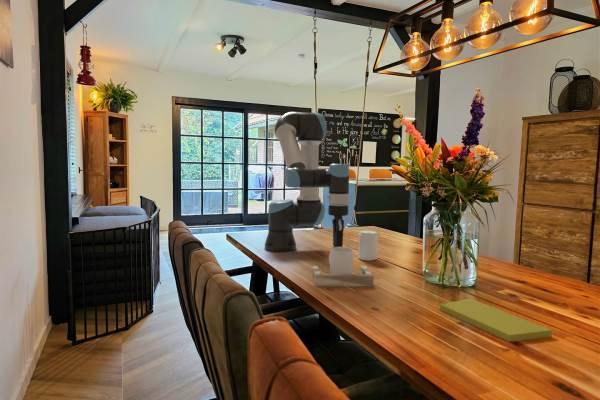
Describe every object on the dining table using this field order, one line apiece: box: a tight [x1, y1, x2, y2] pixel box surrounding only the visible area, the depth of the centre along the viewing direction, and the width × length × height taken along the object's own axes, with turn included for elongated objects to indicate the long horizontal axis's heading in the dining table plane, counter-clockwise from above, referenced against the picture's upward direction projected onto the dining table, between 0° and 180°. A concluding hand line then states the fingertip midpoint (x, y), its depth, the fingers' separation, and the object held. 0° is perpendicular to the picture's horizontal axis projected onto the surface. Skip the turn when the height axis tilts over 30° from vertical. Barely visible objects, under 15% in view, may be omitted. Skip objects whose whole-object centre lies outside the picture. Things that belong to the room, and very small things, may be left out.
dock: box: [312, 265, 375, 287], centre depth 137 cm, size 13×20×4 cm, turn 92°
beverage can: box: [357, 229, 379, 262], centre depth 167 cm, size 8×8×12 cm
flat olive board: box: [439, 298, 553, 343], centre depth 102 cm, size 12×2×24 cm
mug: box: [328, 246, 354, 274], centre depth 142 cm, size 12×8×10 cm
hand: (337, 265), depth 149 cm, fingers closed
